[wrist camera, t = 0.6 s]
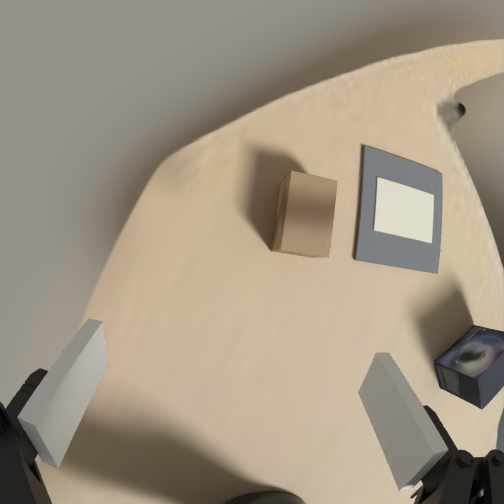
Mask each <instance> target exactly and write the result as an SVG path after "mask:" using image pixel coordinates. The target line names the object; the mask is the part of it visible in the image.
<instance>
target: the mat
mask: <svg viewBox="0 0 504 504" xmlns="http://www.w3.org/2000/svg"><path fill="white" fill-rule="evenodd" d="M441 228H442V173H440V172H438V171H435V170H433V169H430V168H428V167H425V166H423V165H420V164H417V163H415V162H412V161H409V160H406V159H404V158H401V157H398V156H395V155H392V154H389V153H386V152H383V151H380V150H377V149H374V148H371V147H368V146H364V147H363V164H362V183H361V197H360V210H359V221H358V231H357V241H356V249H355V258H354V260H358V261H364V262H370V263H376V264H382V265H388V266H395V267H401V268H407V269H413V270H419V271H425V272H430V273H438V267H439V257H440V244H441Z"/></svg>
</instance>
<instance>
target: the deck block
mask: <svg viewBox="0 0 504 504" xmlns="http://www.w3.org/2000/svg"><path fill="white" fill-rule="evenodd" d="M336 190H337V181H336V180H332V179H327V178H323V177H319V176H315V175H310V174H306V173H301V172H296V171H291V172H290V173H289V174H288V175H287V176H286V177H285V178H284V180H283V181H282V182H281V183H280V188H279V195H278V203H277V210H276V217H275V224H274V231H273V237H272V244H271V251H274V252H280V253H287V254H293V255H299V256H305V257H312V258H314V257H329V252H330V244H331V236H332V228H333V219H334V210H335V200H336Z"/></svg>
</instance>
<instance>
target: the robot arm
mask: <svg viewBox="0 0 504 504" xmlns="http://www.w3.org/2000/svg"><path fill="white" fill-rule="evenodd" d="M107 368H108V362H107V355H106V347H105V339H104V330H103V322H102V321H97V320H93V319H88V320H87V321H86V322H85V324H84V325H83V326H82V327H81V329H80V330H79V331H78V332H77V334H76V335H75V336H74V338H73V339H72V340H71V342H70V343H69V344H68V346H67V347H66V348H65V350H64V351H63V352H62V353H61V355H60V356H59V358H58V359H57V360H56V362H55V363H54V364H53V366H52V367H51V368H50V370H49V371H46V370H44V369H38V370H37V371H35V372H33V373H32V374H31V375H30V376H29V377H28V379H27V380H26V381H25V384H23V385H22V387H21V388H20V391H18V392H17V393H16V395H15V396H14V398H13V399H12V401H11V402H10V404H9V405H8V406H7V408H6V409H5V408H4V406H3V404H2V403H1V402H0V504H52V502H51V500H50V497H49V495H48V493H47V490H46V488H45V485H44V482H43V480H42V477H41V474H40V472H39V469H38V466H37V463H36V461H35V458H36V456H37V454H39V456H40V458H41V459H42V461H44V462H46V463H48V464H50V465H53V466H55V467H58V468H59V467H60V465H61V463H62V460H63V458H64V456H65V454H66V451H67V449H68V447H69V445H70V442H71V440H72V438H73V436H74V434H75V432H76V430H77V427H78V425H79V423H80V421H81V419H82V417H83V415H84V413H85V411H86V409H87V407H88V405H89V403H90V401H91V399H92V397H93V395H94V393H95V391H96V389H97V387H98V385H99V383H100V381H101V379H102V377H103V375H104V374H105V372H106V370H107ZM358 394H359V396H360V398H361V400H362V403H363V405H364V407H365V410H366V412H367V414H368V417H369V419H370V421H371V424H372V426H373V428H374V431H375V433H376V435H377V438H378V440H379V442H380V445H381V447H382V450H383V452H384V455H385V457H386V459H387V462H388V464H389V467H390V469H391V472H392V474H393V477H394V479H395V482H396V484H397V487H398V489H399V491H401V490H405V489H409V488H412V487H414V486H415V485H416V484H417V483H418V482H419V481H420V480H421V481H422V483H423V485H422V486H421V487H420V488H419V489H418V490H417V491H416V492H415V493H414V494H413V495H412V496H411V498H414V497H415V496H416V495H417V497H416V499H415V502H414V504H504V453H503V452H502V451H500V450H496V449H495V450H491V451H490V452H489V453H488V454H487V455H486V456H485V457H473V456H472V455H471V454H470V453H469V452H467V451H465V450H458V449H457V447H456V446H455V444H454V442H453V441H452V439H451V437H450V436H449V434H448V432H447V431H446V429H445V428H443V424H442V423H441V421H440V419H439V418H438V416H437V415H436V413H435V412H434V411H433V410H432V409H431V408H430V407H429V406H427V405H426V406H422V404H421V402H420V401H419V399H418V397H417V396H416V394H415V393H414V391H413V390H412V388H411V386H410V385H409V383H408V382H407V380H406V378H405V377H404V375H403V374H402V372H401V371H400V369H399V368H398V366H397V365H396V363H395V361H394V360H393V358H392V357H391V355H390V354H389V353H376V354H375V357H374V359H373V361H372V364H371V366H370V368H369V370H368V372H367V375H366V377H365V379H364V381H363V383H362V385H361V387H360V389H359V392H358ZM482 490H483V492H484V495H483V496H482V497H481V493H480V492H481V491H482ZM225 504H305V502H304V501H303V500H302V499H300V498H299V497H297V496H295V495H292V494H288V493H284V492H258V493H252V494H247V495H244V496H240V497H238V498H235V499H233V500H231V501H229V502H227V503H225Z"/></svg>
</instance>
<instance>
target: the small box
mask: <svg viewBox="0 0 504 504" xmlns="http://www.w3.org/2000/svg"><path fill="white" fill-rule="evenodd" d="M434 363H435V367H436V371H437V376H438V380H439V385H440V388H441V389H443V390H445V391H447V392H449V393H451V394H453V395H455V396H457V397H459V398H461V399H463V400H465V401H467V402H469V403H471V404H473V405H475V406H477V407H478V408H480V409H483V408H484V407H485V406H486V405H487V404H488V403H489V402H490V401H491V400H492V399H493V398H494V397H495V395H496V394H497V393H498V392H499V391H500V390H501V389H502V387H503V386H504V331H499V330H494V329H489V328H485V327H480V326H476V325H474V326H473V327H472V328H471V329H470V330H469V331H468V332H467V333H466V334H465V335H464V336H463V337H461V338H460V339H459V340H458V341H457V342H456V343H455V344H454V345H453V346H452V347H450V348H449V349H448V350H447V351H446V352H445V353H444V354H442V355H441V356H440V357H439V358H438V359H436V360H435V361H434Z"/></svg>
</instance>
